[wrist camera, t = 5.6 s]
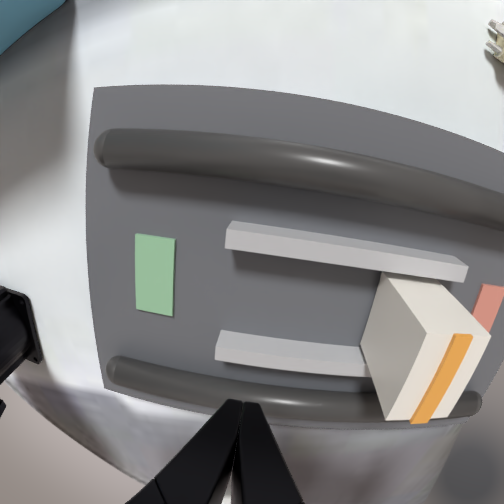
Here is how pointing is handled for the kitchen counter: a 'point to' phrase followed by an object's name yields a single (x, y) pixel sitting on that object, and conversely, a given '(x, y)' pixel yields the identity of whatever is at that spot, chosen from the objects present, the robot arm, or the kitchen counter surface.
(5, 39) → the data package
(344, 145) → the panel
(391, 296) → the knob
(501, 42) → the cable
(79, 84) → the kitchen counter surface
